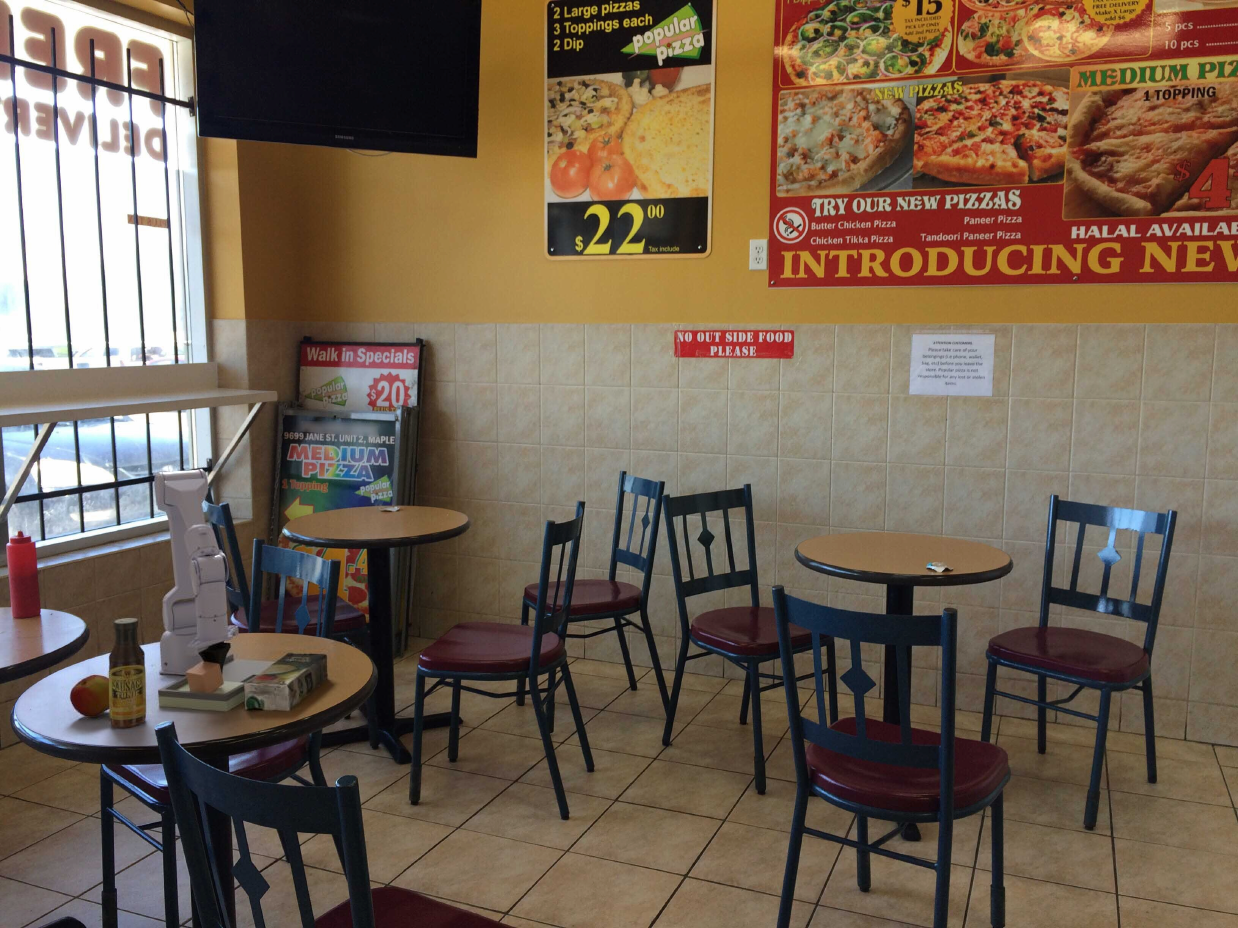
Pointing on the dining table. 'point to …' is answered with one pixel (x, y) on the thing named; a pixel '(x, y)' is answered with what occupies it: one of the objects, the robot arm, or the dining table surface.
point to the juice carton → (286, 682)
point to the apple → (91, 695)
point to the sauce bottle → (127, 676)
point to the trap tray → (220, 698)
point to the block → (204, 677)
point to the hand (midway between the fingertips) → (215, 679)
